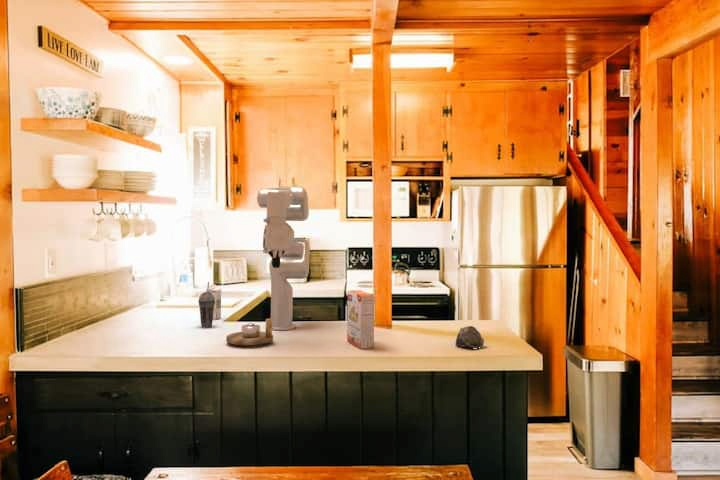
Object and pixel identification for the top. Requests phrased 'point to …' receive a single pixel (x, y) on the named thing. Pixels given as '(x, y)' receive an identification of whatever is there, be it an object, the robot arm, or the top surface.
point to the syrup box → (216, 302)
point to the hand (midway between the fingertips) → (276, 267)
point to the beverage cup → (206, 308)
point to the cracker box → (360, 319)
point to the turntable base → (250, 345)
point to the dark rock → (469, 337)
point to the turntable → (264, 338)
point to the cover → (251, 331)
